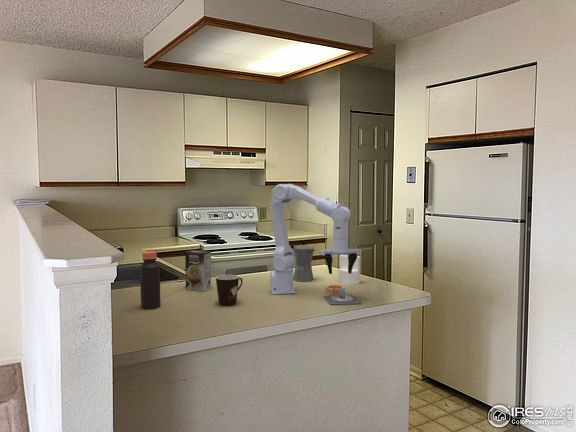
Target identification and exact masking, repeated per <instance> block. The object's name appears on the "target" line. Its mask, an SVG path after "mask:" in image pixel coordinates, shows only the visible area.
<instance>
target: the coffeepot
mask: <svg viewBox="0 0 576 432" xmlns="http://www.w3.org/2000/svg"><path fill="white" fill-rule="evenodd" d="M289 246H290V247H291V248H292V250H293V254H294V255H295V257H296V264H295V265H294V267H295V268H294V271H293V281H295V282H299V283H307V282H313V281H314V273H313V267H312V261H313V256H314V251H316V249H315V247H313V246H310V245H307V244H306V241H305V240H301V244H300V245H298V244H292V243H291V245H289Z"/></svg>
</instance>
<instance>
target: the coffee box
mask: <svg viewBox="0 0 576 432" xmlns="http://www.w3.org/2000/svg"><path fill="white" fill-rule="evenodd" d="M184 253H185V254H184V255H185V256H184V257H185V258H184V259H185V260H184V261H185V263H184V264H185V265H184V266H185V290H187V291H193V292H194V291H195V292H200V293H201V292H204V293H205V292H206V291H209V290H211V289H212V251H211V250H199V249H191V250H187V251H185V252H184Z"/></svg>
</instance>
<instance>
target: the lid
mask: <svg viewBox="0 0 576 432" xmlns="http://www.w3.org/2000/svg"><path fill="white" fill-rule="evenodd" d="M348 295H349V294H346V287H345V288H339V295H334V296H332V297H331V300H333V301H336V302H350V301H353V297H351V296H348Z"/></svg>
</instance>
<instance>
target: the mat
mask: <svg viewBox="0 0 576 432" xmlns="http://www.w3.org/2000/svg"><path fill="white" fill-rule="evenodd" d="M347 295H348V296H351V297H353V301H350V302H336V301H333V300H331V297H332V296H334V295H323V298H324V300H325V301H326V302H327V303H328V304H329V306H346V305H347V306H348V305H363V302H362V301H360V299H359V298H357V297H356V296H355V295H354V294H347Z"/></svg>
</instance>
